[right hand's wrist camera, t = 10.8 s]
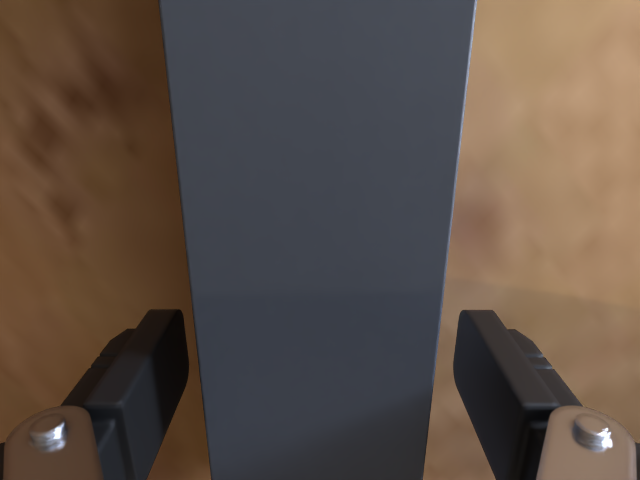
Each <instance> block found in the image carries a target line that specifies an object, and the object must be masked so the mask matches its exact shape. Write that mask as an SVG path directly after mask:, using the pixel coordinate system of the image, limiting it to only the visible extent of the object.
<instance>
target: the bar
mask: <svg viewBox="0 0 640 480" xmlns="http://www.w3.org/2000/svg"><path fill="white" fill-rule="evenodd" d="M158 2H159V11H160V20H161V29H162V38H163V47H164V56H165V65H166V74H167V83H168V92H169V101H170V110H171V119H172V128H173V137H174V146H175V155H176V164H177V173H178V182H179V191H180V200H181V209H182V219H183V228H184V237H185V246H186V255H187V264H188V273H189V282H190V291H191V300H192V309H193V318H194V327H195V336H196V345H197V354H198V363H199V372H200V381H201V390H202V399H203V408H204V417H205V426H206V435H207V444H208V453H209V462H210V472H211V480H423V472H424V463H425V454H426V445H427V436H428V428H429V419H430V410H431V401H432V392H433V384H434V375H435V366H436V357H437V348H438V340H439V331H440V322H441V313H442V304H443V296H444V287H445V278H446V269H447V260H448V252H449V243H450V234H451V225H452V216H453V207H454V199H455V190H456V181H457V172H458V163H459V155H460V146H461V137H462V128H463V119H464V111H465V102H466V93H467V84H468V75H469V67H470V58H471V49H472V40H473V31H474V23H475V14H476V5H477V0H158Z"/></svg>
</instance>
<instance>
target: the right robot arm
mask: <svg viewBox="0 0 640 480" xmlns="http://www.w3.org/2000/svg"><path fill="white" fill-rule="evenodd" d="M453 371H454V379H455V383H456V386H457V389H458V391H459V394H460V396H461V398H462V401H463V403H464V405H465V408H466V410H467V412H468V415H469V417H470V419H471V422H472V424H473V426H474V429H475V431H476V434H477V436H478V438H479V441H480V443H481V445H482V448H483V450H484V452H485V455H486V457H487V459H488V462H489V464H490V466H491V469H492V471H493V473H494V476H495V478H496V480H640V444H639V443H635V442H634V439H633V437H632V436H631V435H630V433H629V432H628V431H627V430H626V429H625V428H624V427H623V426H622V425H621V424H620V423H618V422H617V421H616V420H614V419H613V418H611V417H609V416H607V415H605V414H603V413H601V412H599V411H596V410H594V409H590V408H587V407H583V406H582V405H581V403H580V402H579V401H578V399H577V398H576V397H575V396H574V394H573V393H572V392H571V390H570V389H569V388H568V387H567V385H566V384H565V383H564V381H563V380H562V379H561V377H560V376H559V375H558V374H557V372H556V371H555V370H554V369H552V366H551V365H550V363H549V362H548V361H547V359H546V358H543V354H542V353H541V352H540V350H539V349H538V348H537V346H536V345H535V344H534V343H533V341H531V340H530V339H528V338H527V337H526V336H524V335H523V334H521V333H520V332H518V331H517V330H515V329H506V327H505V326H504V325H503V323H502V322H501V320H500V319H499V317H498V316H497V315H496V313H495V312H494V311H493V310H462V311H461V313H460V316H459V321H458V329H457V337H456V345H455V353H454V362H453ZM188 373H189V358H188V350H187V342H186V334H185V326H184V318H183V314H182V312H181V310H179V309H151V310H149V311H148V312H147V313H146V315H145V316H144V318H143V319H142V321H141V322H140V323H139V325H138V326H137V328H136V329H126V330H125V331H123V332H122V333H121V334H119V335H118V336H116V337H115V338H113V339H112V340H110V342H109V343H108V344H107V345H106V347H105V348H104V349H103V351H102V352H101V353H100V357H97V358H96V360H95V361H94V362H93V364H92V365H91V368H89V369H88V370H87V372H86V373H85V374H84V375H83V377H82V378H81V379H80V381H79V382H78V383H77V385H76V386H75V387H74V389H73V390H72V391H71V392H70V394H69V395H68V396H67V398H66V399H65V400H64V402H63V403H62V404H61V406H58V407H53V408H50V409H46V410H44V411H41V412H39V413H37V414H35V415H33V416H31V417H29V418H27V419H26V420H24V421H23V422H22V423H20V424H19V425H18V426H17V427H16V428H15V429H14V430H13V431H12V432H11V433H10V434H9V436H8V437H7V439H6V442H4V443H0V480H146V479H147V477H148V475H149V472H150V470H151V467H152V465H153V463H154V460H155V458H156V456H157V453H158V451H159V448H160V446H161V444H162V441H163V439H164V437H165V434H166V432H167V429H168V427H169V425H170V422H171V420H172V417H173V415H174V413H175V410H176V408H177V406H178V403H179V401H180V398H181V396H182V394H183V391H184V389H185V386H186V384H187V379H188Z"/></svg>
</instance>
